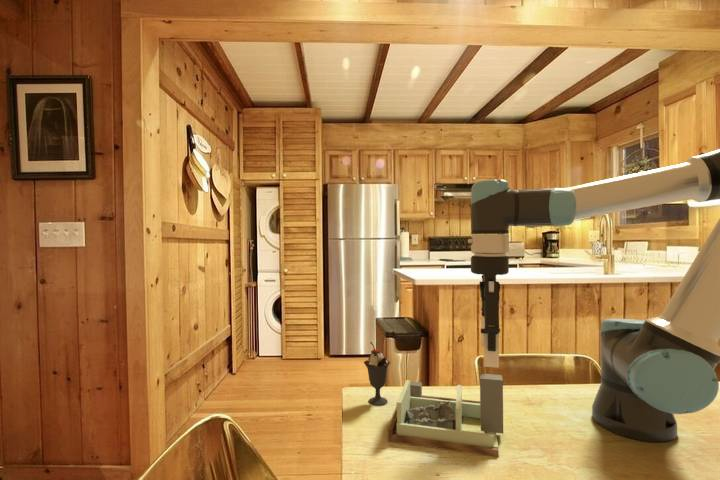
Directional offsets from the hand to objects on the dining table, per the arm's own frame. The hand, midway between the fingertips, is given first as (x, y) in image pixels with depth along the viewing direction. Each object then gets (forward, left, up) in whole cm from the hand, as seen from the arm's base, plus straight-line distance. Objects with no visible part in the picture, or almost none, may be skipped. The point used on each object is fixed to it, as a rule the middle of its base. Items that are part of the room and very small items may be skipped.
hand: (489, 355), depth 79 cm
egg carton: (+12, 0, -17) cm, 21 cm away
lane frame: (+10, -3, -17) cm, 20 cm away
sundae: (+27, -9, -17) cm, 33 cm away
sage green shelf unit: (+8, 0, -16) cm, 18 cm away
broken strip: (+11, -10, -17) cm, 23 cm away
